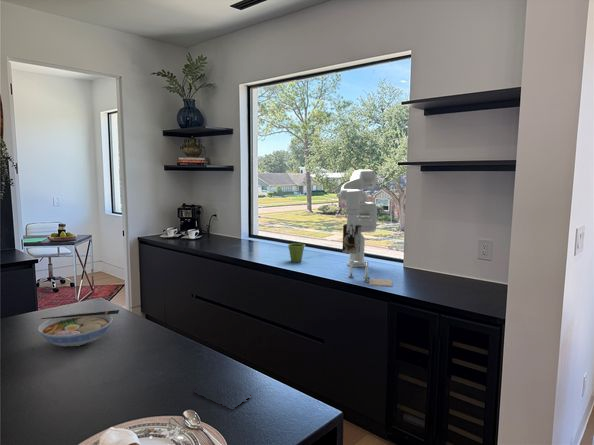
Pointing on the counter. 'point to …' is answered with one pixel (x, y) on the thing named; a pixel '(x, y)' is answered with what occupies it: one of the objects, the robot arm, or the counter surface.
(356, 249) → the coffee box
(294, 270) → the counter surface
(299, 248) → the plant pot
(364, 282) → the white arch piece
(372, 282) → the tile
